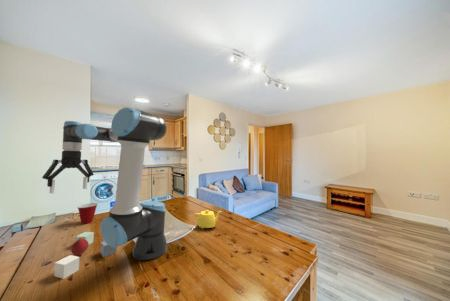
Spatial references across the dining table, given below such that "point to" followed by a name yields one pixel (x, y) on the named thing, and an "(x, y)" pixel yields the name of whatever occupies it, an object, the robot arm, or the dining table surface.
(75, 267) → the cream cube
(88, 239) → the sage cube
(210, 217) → the teapot
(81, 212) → the plastic cup
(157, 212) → the robot arm
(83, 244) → the onion
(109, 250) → the slate cube
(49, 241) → the dining table surface
